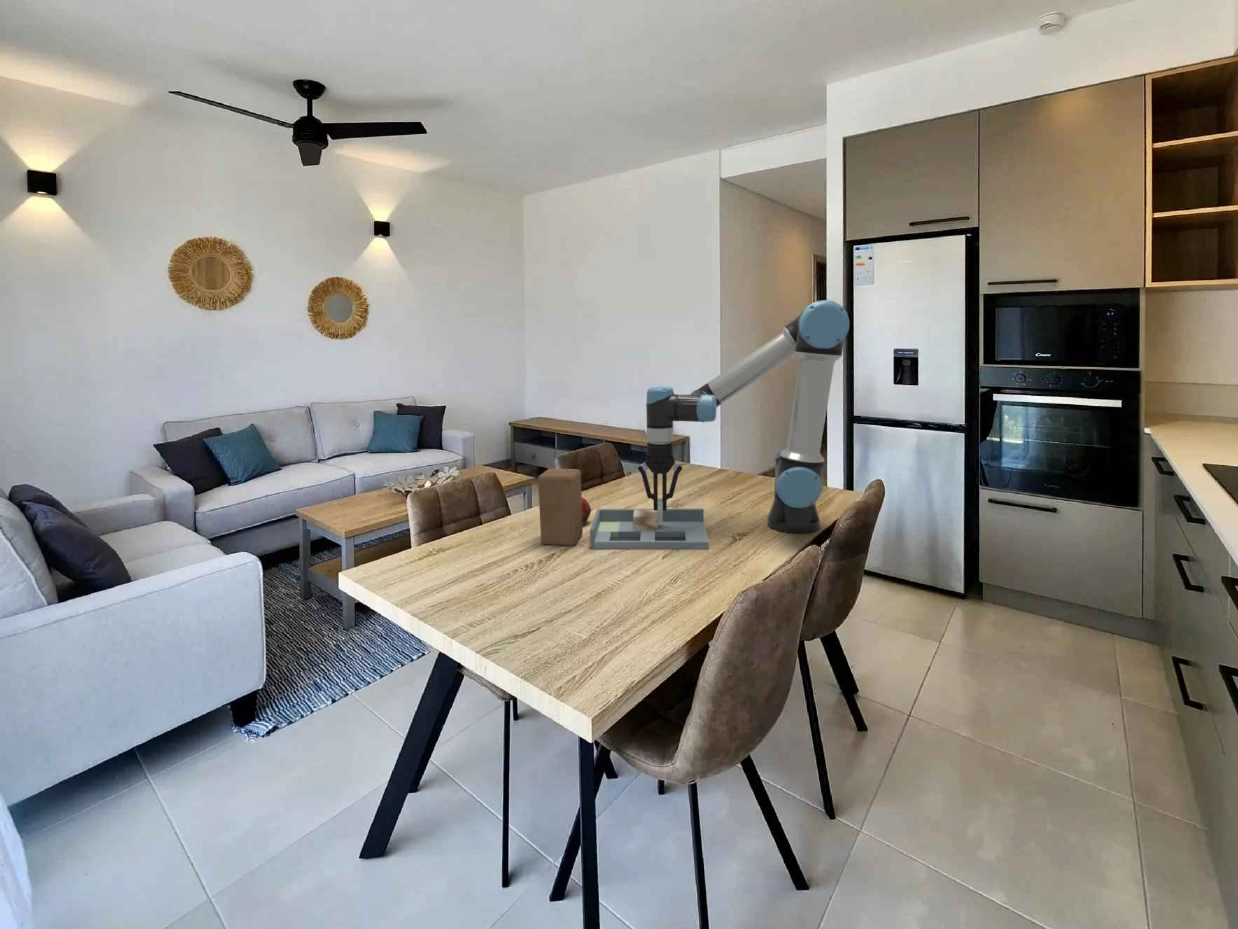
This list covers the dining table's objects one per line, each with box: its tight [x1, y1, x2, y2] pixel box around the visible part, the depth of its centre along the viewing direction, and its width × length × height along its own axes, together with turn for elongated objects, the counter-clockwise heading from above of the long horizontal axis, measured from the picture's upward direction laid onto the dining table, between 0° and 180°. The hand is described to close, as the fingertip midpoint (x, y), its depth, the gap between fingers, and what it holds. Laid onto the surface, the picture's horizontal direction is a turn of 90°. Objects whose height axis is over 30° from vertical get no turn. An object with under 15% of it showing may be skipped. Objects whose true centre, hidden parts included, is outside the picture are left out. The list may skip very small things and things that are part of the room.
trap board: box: [589, 508, 710, 550], centre depth 173 cm, size 32×20×6 cm, turn 86°
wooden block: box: [537, 468, 584, 546], centre depth 170 cm, size 10×10×20 cm
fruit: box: [581, 496, 592, 524], centre depth 187 cm, size 9×10×10 cm
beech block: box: [633, 510, 658, 530], centre depth 176 cm, size 7×7×4 cm
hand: (660, 520), depth 176 cm, fingers closed
